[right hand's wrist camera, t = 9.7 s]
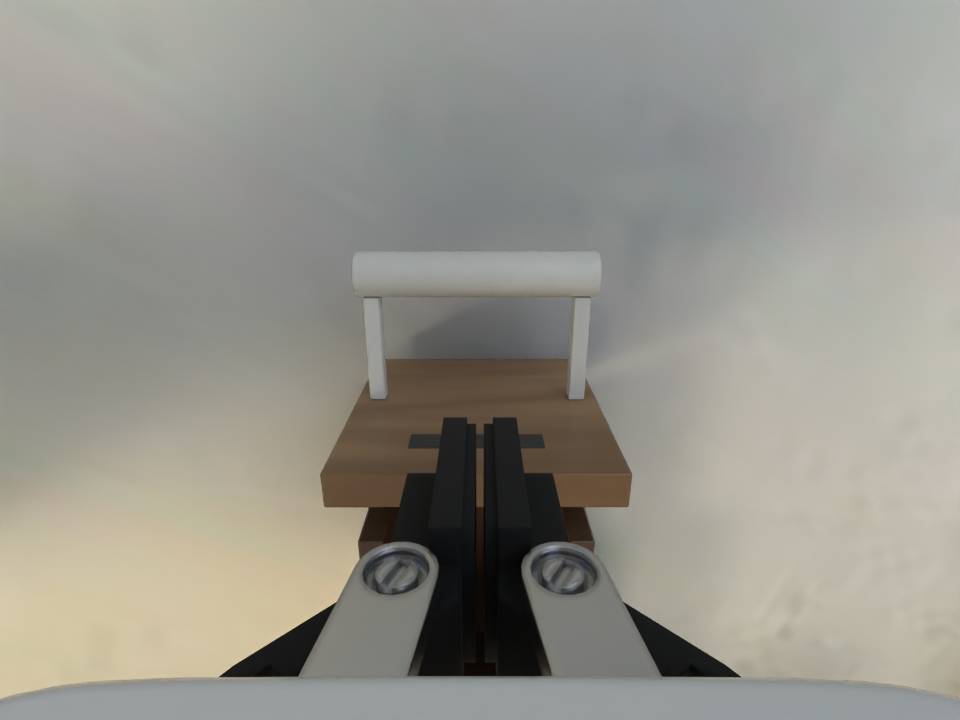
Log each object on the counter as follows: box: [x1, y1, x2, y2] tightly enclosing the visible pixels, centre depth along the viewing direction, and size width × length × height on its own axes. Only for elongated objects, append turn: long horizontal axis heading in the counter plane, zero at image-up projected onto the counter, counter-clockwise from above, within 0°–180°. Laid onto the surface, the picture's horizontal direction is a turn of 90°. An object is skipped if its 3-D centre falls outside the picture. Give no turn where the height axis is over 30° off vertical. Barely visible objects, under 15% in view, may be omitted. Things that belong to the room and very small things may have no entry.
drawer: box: [320, 251, 632, 676], centre depth 22 cm, size 22×9×10 cm, turn 0°
